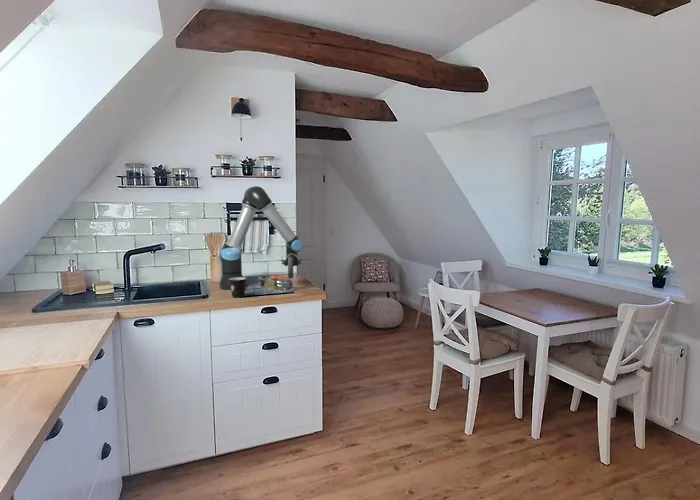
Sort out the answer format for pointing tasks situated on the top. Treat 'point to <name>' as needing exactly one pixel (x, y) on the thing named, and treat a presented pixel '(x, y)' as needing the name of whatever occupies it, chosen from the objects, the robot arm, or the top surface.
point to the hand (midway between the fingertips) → (291, 265)
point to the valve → (275, 284)
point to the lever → (290, 270)
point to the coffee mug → (238, 287)
